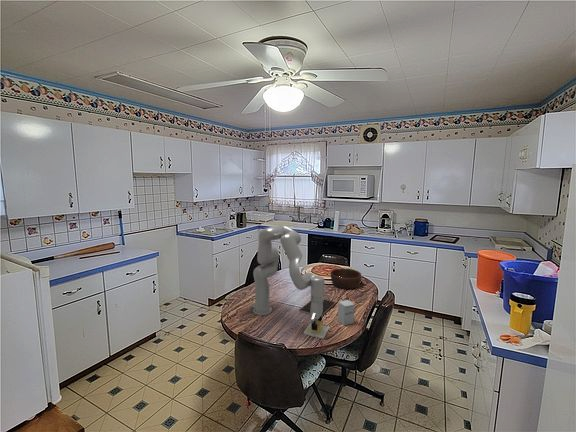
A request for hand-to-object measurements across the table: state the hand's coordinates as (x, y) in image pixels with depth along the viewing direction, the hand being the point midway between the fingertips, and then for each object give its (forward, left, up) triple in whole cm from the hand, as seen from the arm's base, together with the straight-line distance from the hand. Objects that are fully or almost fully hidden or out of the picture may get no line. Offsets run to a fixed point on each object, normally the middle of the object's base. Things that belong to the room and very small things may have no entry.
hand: (316, 326), depth 167 cm
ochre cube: (0, 0, -3) cm, 3 cm away
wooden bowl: (0, +78, -4) cm, 78 cm away
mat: (0, 0, -3) cm, 3 cm away
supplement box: (+13, +18, -4) cm, 22 cm away
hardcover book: (-9, +29, -4) cm, 30 cm away
